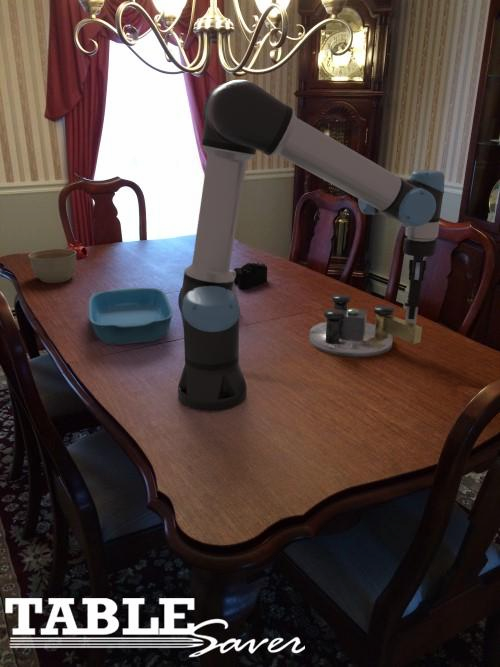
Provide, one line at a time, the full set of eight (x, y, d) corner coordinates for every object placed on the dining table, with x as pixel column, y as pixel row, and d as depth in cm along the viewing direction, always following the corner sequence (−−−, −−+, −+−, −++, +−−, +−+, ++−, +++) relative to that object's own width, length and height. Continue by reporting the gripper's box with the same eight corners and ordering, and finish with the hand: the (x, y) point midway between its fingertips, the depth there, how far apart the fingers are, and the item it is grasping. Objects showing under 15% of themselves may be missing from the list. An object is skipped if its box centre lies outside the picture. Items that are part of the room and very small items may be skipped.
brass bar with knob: (367, 334, 148) (369, 307, 145) (381, 331, 150) (384, 304, 148) (408, 353, 136) (412, 323, 134) (423, 349, 139) (427, 320, 136)
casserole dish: (90, 310, 173) (88, 288, 170) (162, 304, 178) (161, 283, 176) (91, 355, 140) (88, 329, 137) (179, 347, 145) (178, 321, 143)
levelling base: (390, 361, 137) (394, 323, 134) (302, 351, 143) (304, 314, 139) (393, 331, 157) (397, 297, 153) (316, 323, 163) (318, 290, 159)
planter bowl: (71, 275, 210) (68, 246, 206) (85, 285, 198) (82, 255, 194) (27, 281, 202) (23, 251, 198) (38, 292, 189) (34, 260, 185)
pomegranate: (60, 262, 229) (57, 239, 226) (83, 258, 235) (81, 237, 232) (68, 266, 222) (66, 243, 218) (92, 263, 228) (90, 240, 224)
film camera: (249, 279, 207) (249, 256, 204) (270, 284, 201) (271, 260, 198) (222, 288, 196) (222, 263, 193) (243, 293, 190) (244, 268, 187)
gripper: (405, 231, 139) (395, 319, 148) (403, 242, 128) (393, 337, 137) (436, 233, 138) (424, 322, 146) (438, 244, 126) (425, 340, 135)
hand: (409, 329), depth 142 cm, fingers closed
